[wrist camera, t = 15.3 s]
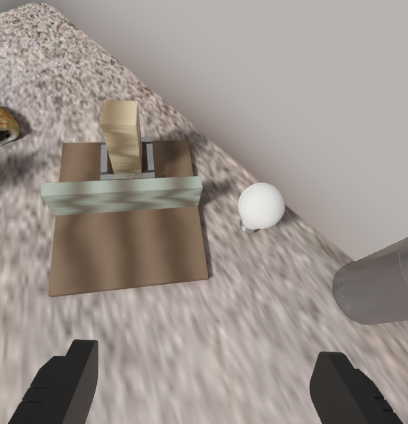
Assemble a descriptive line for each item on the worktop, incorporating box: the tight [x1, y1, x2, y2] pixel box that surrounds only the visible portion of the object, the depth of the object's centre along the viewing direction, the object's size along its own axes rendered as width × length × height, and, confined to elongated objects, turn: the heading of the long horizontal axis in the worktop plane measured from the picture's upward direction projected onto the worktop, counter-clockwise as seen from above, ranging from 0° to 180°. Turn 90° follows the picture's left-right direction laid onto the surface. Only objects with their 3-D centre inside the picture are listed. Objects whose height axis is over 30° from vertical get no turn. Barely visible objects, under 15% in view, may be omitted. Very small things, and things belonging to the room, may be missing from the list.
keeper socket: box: [100, 137, 155, 181], centre depth 48 cm, size 8×8×2 cm
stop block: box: [101, 99, 143, 174], centre depth 43 cm, size 4×4×12 cm
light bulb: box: [238, 183, 285, 233], centre depth 42 cm, size 7×7×11 cm
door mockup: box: [41, 140, 209, 297], centre depth 43 cm, size 22×26×7 cm
